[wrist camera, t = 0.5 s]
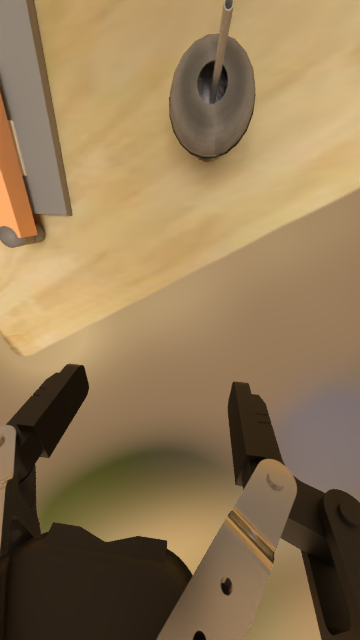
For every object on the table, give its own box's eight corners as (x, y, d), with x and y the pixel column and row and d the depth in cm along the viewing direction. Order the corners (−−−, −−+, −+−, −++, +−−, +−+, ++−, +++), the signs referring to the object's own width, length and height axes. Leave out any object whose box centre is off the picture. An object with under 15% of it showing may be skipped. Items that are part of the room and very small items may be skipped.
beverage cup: (172, 156, 29) (124, 86, 12) (198, 89, 26) (186, -148, 8) (217, 184, 30) (234, 158, 13) (248, 123, 27) (329, -24, 9)
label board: (-102, -64, 23) (-131, -89, 21) (21, -68, 22) (3, -94, 20) (1, 238, 37) (-10, 240, 36) (77, 244, 36) (70, 246, 35)
